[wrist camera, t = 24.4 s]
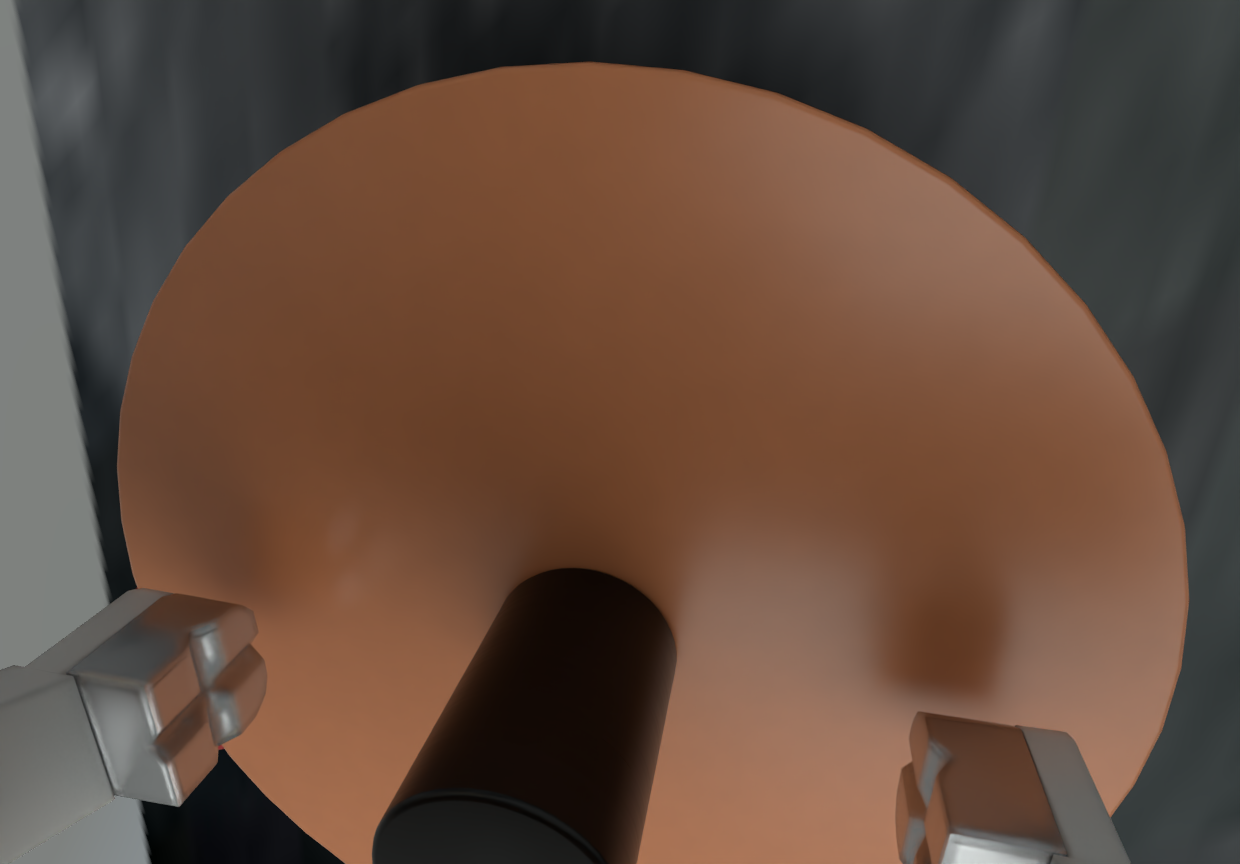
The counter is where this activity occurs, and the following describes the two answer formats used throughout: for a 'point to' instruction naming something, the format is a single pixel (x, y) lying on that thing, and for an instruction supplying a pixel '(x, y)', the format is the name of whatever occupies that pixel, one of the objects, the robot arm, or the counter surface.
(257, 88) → the counter surface
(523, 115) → the lid
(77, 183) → the counter surface
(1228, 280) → the counter surface
